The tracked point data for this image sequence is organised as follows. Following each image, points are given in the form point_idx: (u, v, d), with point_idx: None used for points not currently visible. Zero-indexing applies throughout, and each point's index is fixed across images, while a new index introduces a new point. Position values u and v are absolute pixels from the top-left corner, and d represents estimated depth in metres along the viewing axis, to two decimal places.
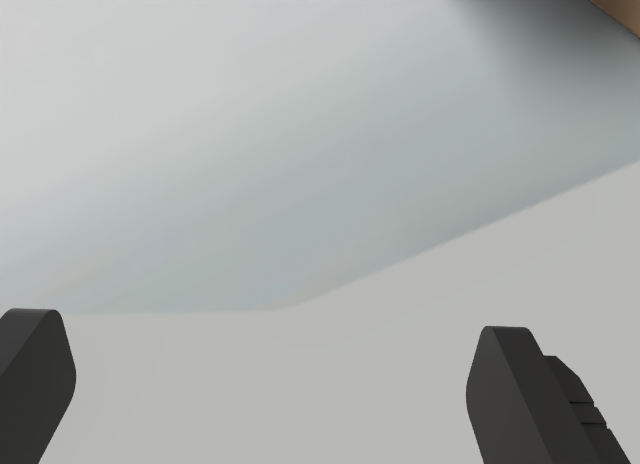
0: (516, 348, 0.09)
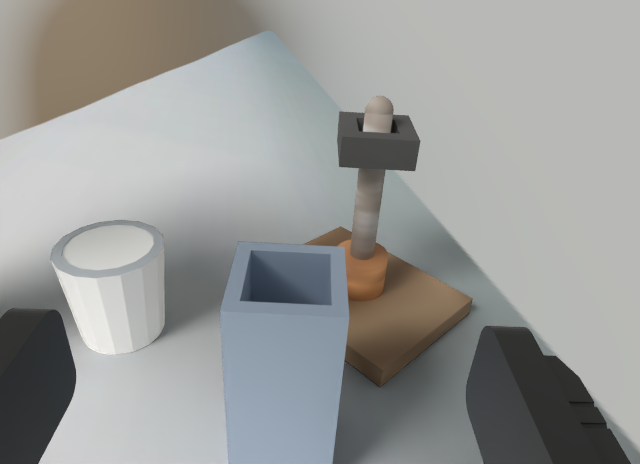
0: (516, 348, 0.09)
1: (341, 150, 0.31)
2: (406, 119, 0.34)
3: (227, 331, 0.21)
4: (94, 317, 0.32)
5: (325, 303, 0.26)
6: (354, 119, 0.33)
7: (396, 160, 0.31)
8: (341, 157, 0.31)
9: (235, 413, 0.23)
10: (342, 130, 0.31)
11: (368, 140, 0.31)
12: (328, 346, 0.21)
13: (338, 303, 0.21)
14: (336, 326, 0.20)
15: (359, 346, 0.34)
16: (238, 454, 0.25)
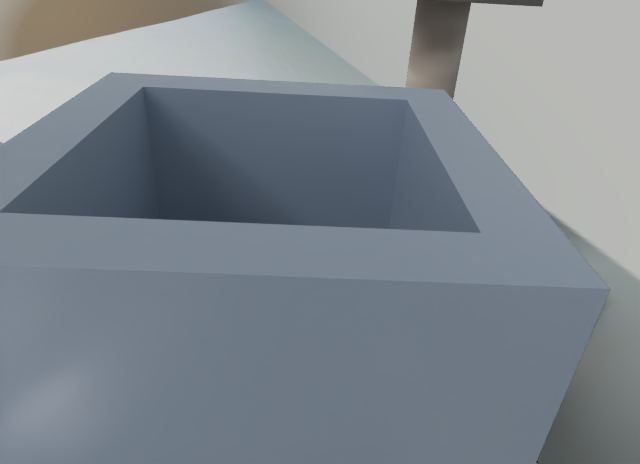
0: None
1: None
2: None
3: None
4: None
5: None
6: None
7: None
8: None
9: None
10: None
11: None
12: (460, 439, 0.04)
13: (506, 224, 0.04)
14: (522, 342, 0.04)
15: None
16: None
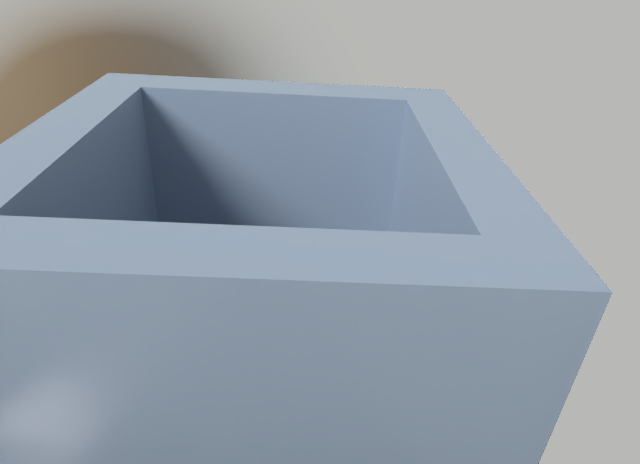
0: None
1: None
2: None
3: None
4: None
5: None
6: None
7: None
8: None
9: None
10: None
11: None
12: (460, 445, 0.04)
13: (507, 227, 0.04)
14: (523, 346, 0.04)
15: None
16: None
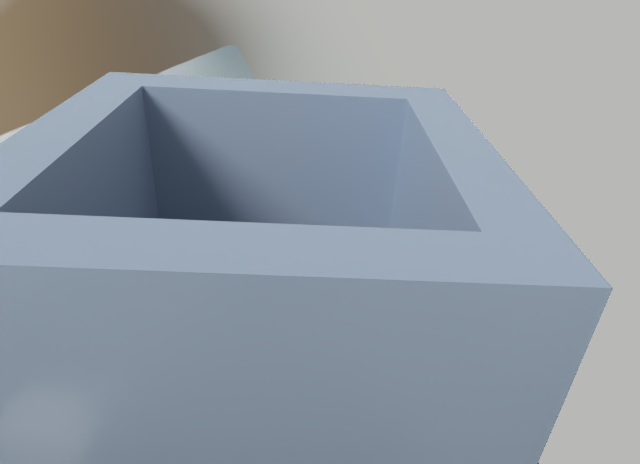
0: None
1: None
2: None
3: None
4: None
5: None
6: None
7: None
8: None
9: None
10: None
11: None
12: (461, 440, 0.04)
13: (508, 223, 0.04)
14: (523, 341, 0.04)
15: None
16: None
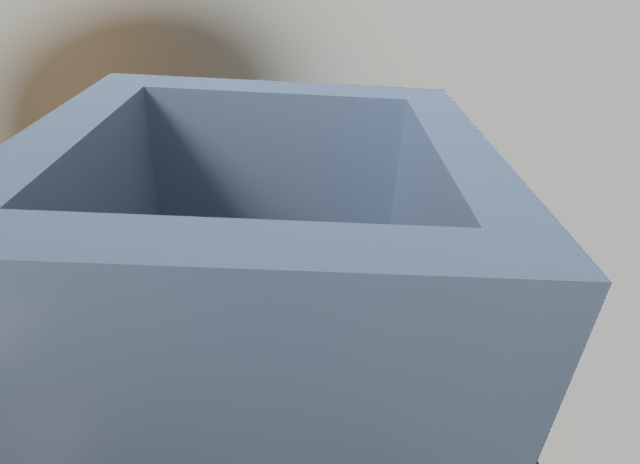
0: None
1: None
2: None
3: None
4: None
5: None
6: None
7: None
8: None
9: None
10: None
11: None
12: (462, 437, 0.04)
13: (508, 219, 0.04)
14: (524, 336, 0.04)
15: None
16: None
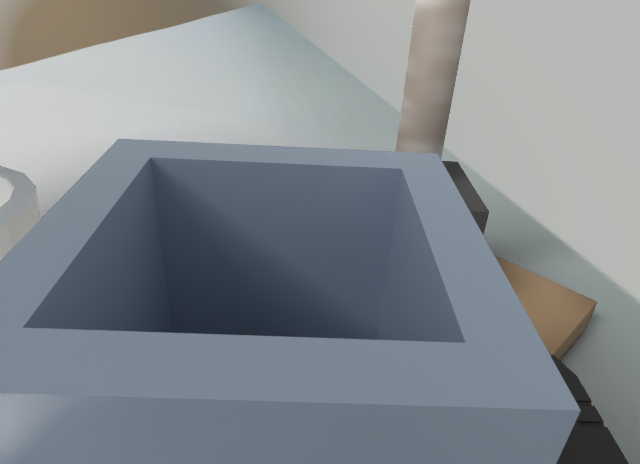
0: None
1: None
2: (456, 169, 0.22)
3: None
4: None
5: (377, 322, 0.09)
6: None
7: None
8: None
9: None
10: None
11: None
12: None
13: (490, 331, 0.05)
14: (502, 451, 0.04)
15: None
16: None
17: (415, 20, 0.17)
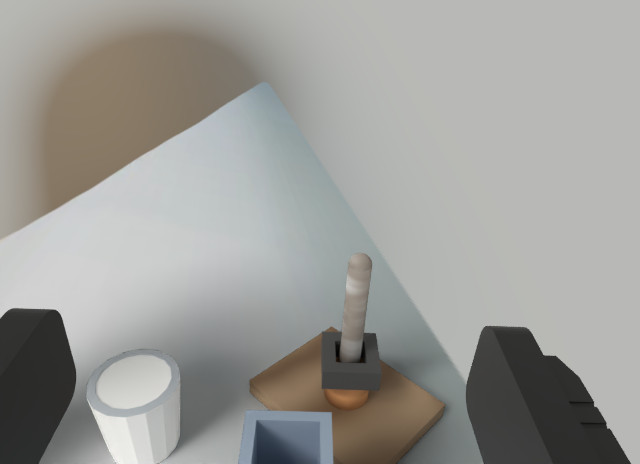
0: (516, 348, 0.09)
1: (323, 379, 0.41)
2: (373, 340, 0.44)
3: None
4: (122, 443, 0.38)
5: (317, 454, 0.31)
6: (333, 343, 0.44)
7: (364, 384, 0.42)
8: (323, 383, 0.42)
9: None
10: (323, 362, 0.42)
11: (343, 373, 0.41)
12: None
13: None
14: None
15: (347, 459, 0.40)
16: None
17: (346, 295, 0.40)
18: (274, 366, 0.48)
